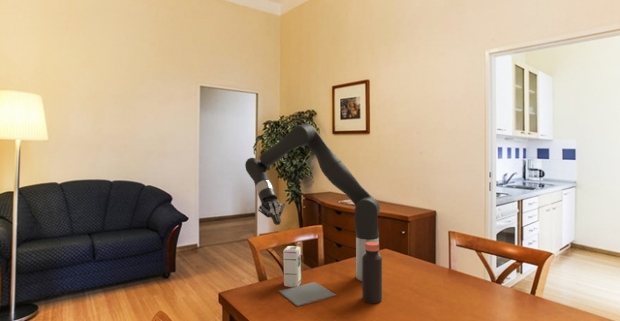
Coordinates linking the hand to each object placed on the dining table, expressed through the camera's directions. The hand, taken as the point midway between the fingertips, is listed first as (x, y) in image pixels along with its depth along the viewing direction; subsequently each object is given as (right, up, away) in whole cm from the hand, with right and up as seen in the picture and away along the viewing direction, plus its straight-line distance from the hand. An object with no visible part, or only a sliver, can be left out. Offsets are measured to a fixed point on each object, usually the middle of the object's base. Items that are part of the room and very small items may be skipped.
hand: (278, 223), depth 143 cm
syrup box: (+7, -22, -10) cm, 25 cm away
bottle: (+36, -22, -24) cm, 49 cm away
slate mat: (+12, -22, -19) cm, 32 cm away
